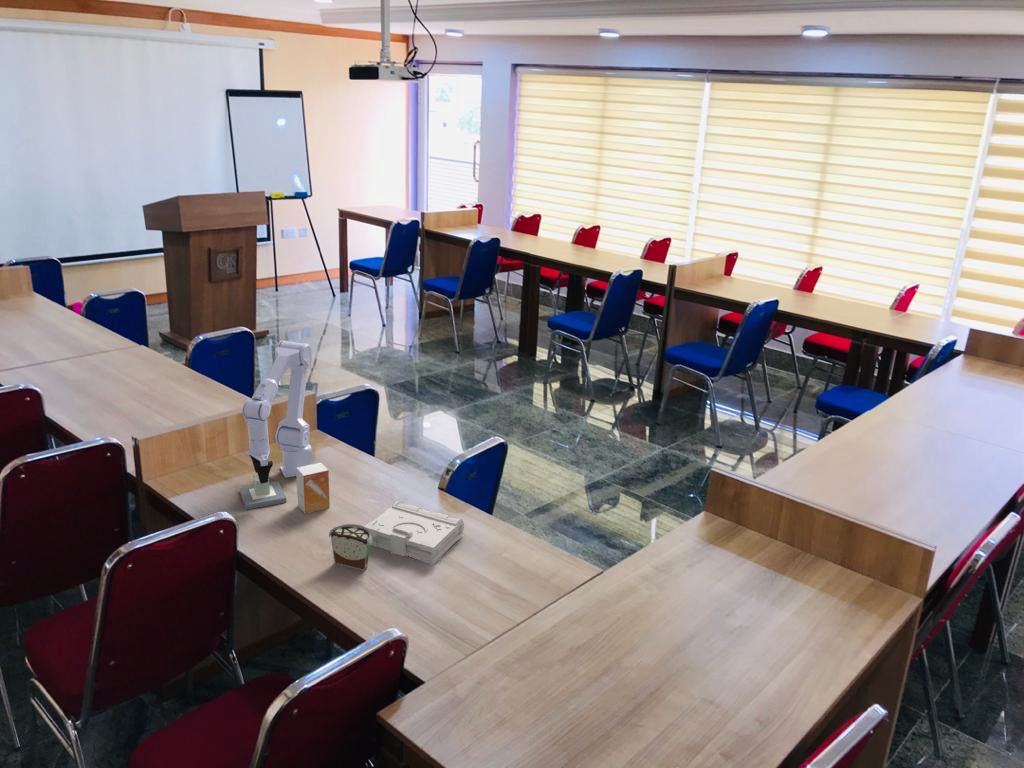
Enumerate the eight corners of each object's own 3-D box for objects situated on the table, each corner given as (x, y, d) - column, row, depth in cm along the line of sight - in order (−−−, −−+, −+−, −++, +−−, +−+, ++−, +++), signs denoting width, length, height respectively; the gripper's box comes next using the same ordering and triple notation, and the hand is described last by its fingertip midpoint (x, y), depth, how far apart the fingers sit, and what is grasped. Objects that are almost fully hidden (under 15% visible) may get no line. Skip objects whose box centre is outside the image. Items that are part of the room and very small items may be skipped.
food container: (380, 560, 231) (380, 528, 227) (370, 572, 225) (369, 539, 222) (341, 550, 234) (340, 519, 231) (329, 562, 229) (328, 530, 225)
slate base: (278, 485, 269) (278, 480, 268) (286, 502, 259) (286, 497, 258) (239, 491, 264) (239, 487, 263) (246, 509, 254) (246, 504, 253)
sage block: (267, 488, 263) (266, 473, 261) (269, 493, 260) (268, 479, 258) (254, 490, 261) (253, 476, 260) (256, 496, 258) (255, 481, 256)
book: (385, 512, 256) (385, 490, 253) (466, 535, 245) (466, 513, 242) (348, 542, 240) (346, 519, 237) (432, 569, 229) (432, 545, 226)
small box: (304, 514, 252) (302, 475, 248) (297, 505, 257) (295, 467, 253) (330, 508, 257) (328, 469, 252) (322, 499, 261) (321, 461, 257)
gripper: (240, 429, 258) (244, 469, 263) (249, 448, 246) (252, 489, 251) (264, 426, 261) (266, 465, 266) (273, 445, 249) (276, 485, 254)
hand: (261, 477), depth 259 cm, fingers open, 7 cm apart
